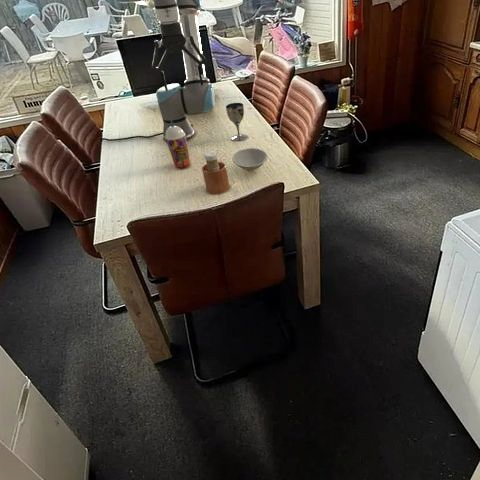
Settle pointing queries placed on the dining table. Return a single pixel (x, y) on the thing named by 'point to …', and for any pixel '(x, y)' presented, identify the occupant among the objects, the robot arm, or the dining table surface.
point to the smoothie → (177, 146)
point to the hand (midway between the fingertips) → (184, 87)
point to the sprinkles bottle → (211, 161)
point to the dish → (249, 158)
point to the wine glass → (236, 117)
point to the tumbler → (216, 179)
